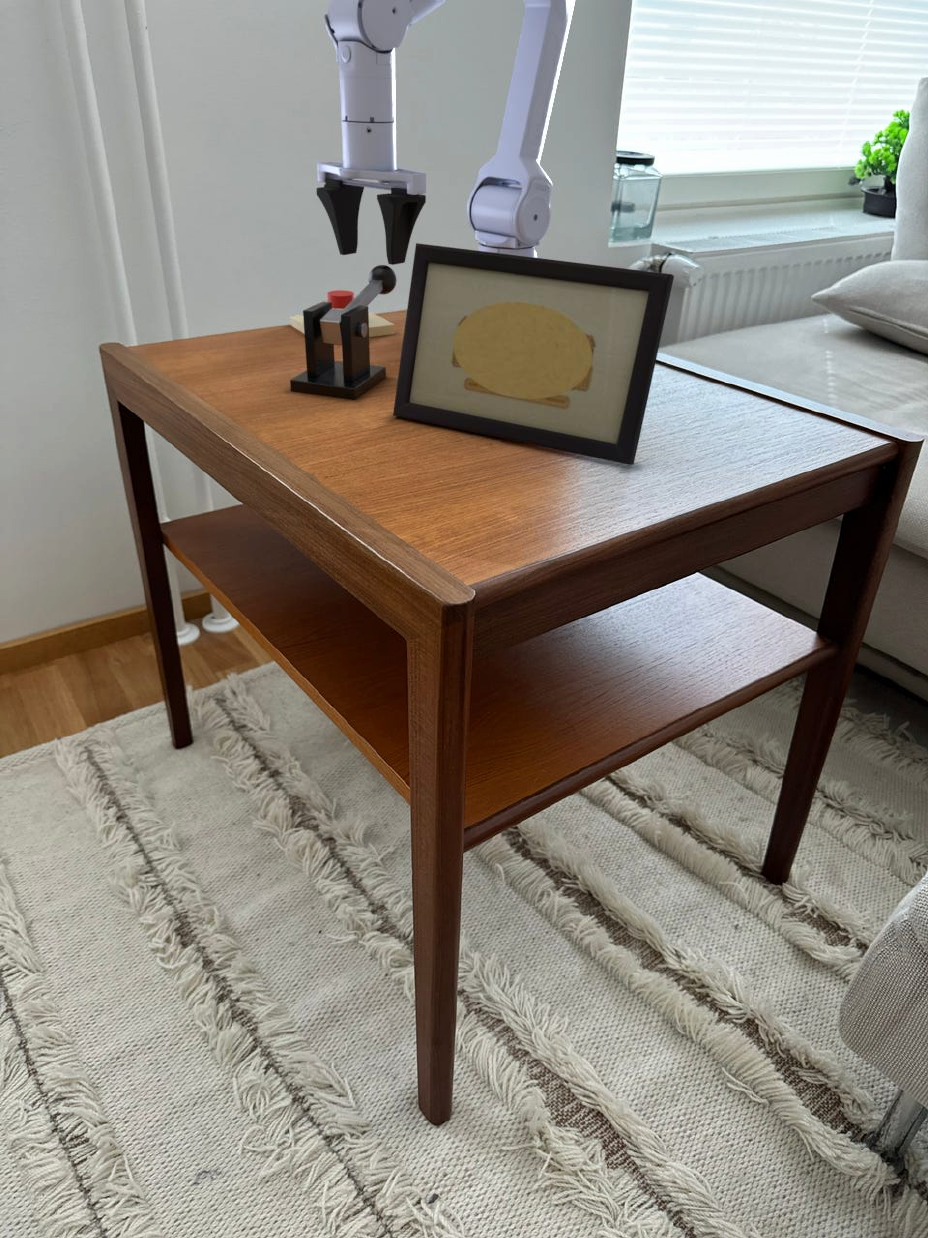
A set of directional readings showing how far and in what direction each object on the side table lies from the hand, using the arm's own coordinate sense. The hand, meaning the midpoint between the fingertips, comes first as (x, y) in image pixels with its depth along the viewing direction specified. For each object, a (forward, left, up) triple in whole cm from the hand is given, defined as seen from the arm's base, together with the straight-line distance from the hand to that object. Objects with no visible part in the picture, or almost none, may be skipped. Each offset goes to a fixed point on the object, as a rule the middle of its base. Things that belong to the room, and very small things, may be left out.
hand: (371, 258), depth 101 cm
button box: (-3, -6, -9) cm, 11 cm away
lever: (+11, +3, -4) cm, 12 cm away
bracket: (+17, +3, -9) cm, 20 cm away
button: (-3, -6, -7) cm, 9 cm away
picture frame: (+22, +24, -9) cm, 34 cm away
